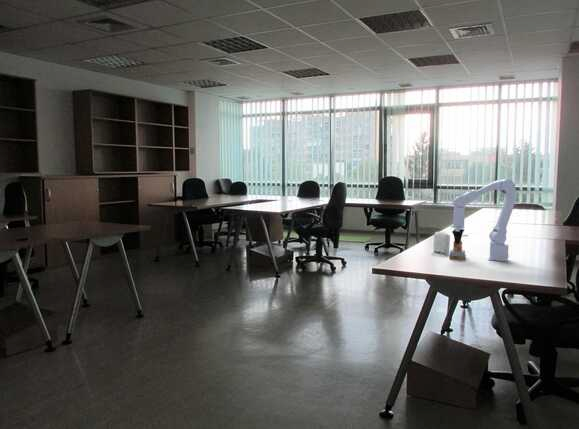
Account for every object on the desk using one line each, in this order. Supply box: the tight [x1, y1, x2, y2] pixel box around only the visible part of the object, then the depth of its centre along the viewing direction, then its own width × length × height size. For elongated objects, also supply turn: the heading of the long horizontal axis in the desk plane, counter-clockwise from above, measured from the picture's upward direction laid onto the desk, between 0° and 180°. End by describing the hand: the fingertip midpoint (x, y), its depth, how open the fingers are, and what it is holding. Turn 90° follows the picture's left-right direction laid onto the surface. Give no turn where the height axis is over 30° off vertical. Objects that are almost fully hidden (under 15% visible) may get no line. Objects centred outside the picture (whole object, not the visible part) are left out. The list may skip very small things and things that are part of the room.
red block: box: [452, 240, 463, 251], centre depth 264 cm, size 4×4×5 cm
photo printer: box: [433, 231, 451, 255], centre depth 282 cm, size 10×4×12 cm, turn 28°
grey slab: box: [449, 248, 466, 257], centre depth 264 cm, size 7×7×2 cm
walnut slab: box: [448, 253, 467, 261], centre depth 264 cm, size 8×8×2 cm
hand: (457, 243), depth 264 cm, fingers open, 7 cm apart
